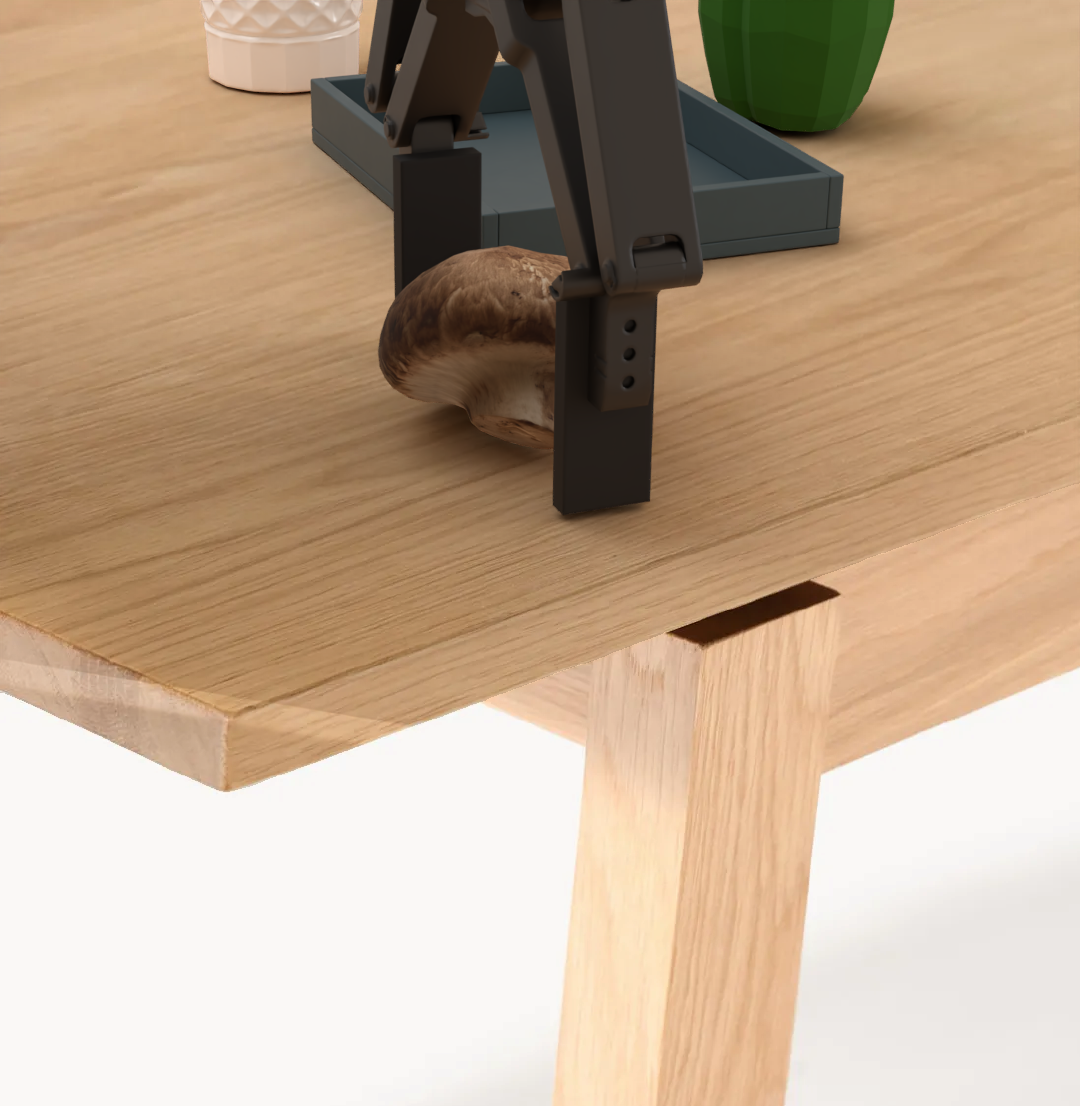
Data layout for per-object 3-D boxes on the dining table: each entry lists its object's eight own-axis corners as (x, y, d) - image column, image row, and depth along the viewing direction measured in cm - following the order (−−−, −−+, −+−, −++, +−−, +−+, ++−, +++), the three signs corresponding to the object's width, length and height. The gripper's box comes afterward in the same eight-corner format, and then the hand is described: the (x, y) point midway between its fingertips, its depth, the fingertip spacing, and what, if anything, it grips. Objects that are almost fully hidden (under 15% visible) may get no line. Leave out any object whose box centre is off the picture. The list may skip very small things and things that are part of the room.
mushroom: (594, 405, 70) (560, 190, 71) (348, 471, 74) (318, 265, 74) (702, 448, 77) (669, 252, 78) (472, 507, 81) (444, 318, 82)
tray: (482, 287, 89) (482, 214, 87) (311, 141, 104) (309, 78, 103) (839, 243, 94) (844, 174, 92) (625, 110, 109) (627, 49, 108)
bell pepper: (712, 86, 113) (724, -148, 108) (896, 102, 111) (916, -136, 106) (670, 136, 106) (680, -112, 101) (866, 154, 104) (886, -98, 99)
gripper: (873, -279, 58) (813, 563, 69) (482, -384, 78) (481, 282, 88) (574, -266, 56) (558, 607, 66) (248, -377, 76) (275, 308, 86)
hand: (514, 422), depth 77 cm, fingers open, 12 cm apart
